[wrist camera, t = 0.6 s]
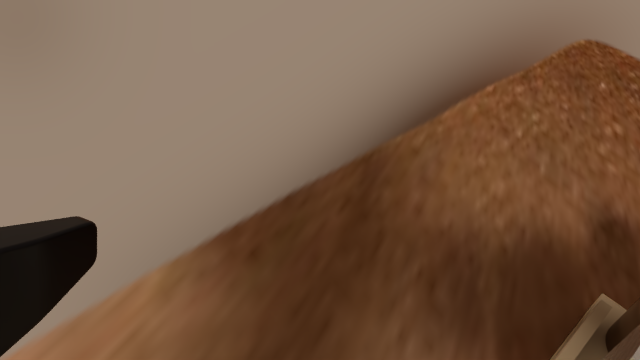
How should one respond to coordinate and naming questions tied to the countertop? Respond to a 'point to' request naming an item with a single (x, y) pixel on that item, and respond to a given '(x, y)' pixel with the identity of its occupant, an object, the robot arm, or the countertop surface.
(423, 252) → the countertop surface
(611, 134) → the countertop surface
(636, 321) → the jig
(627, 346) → the white square slab
